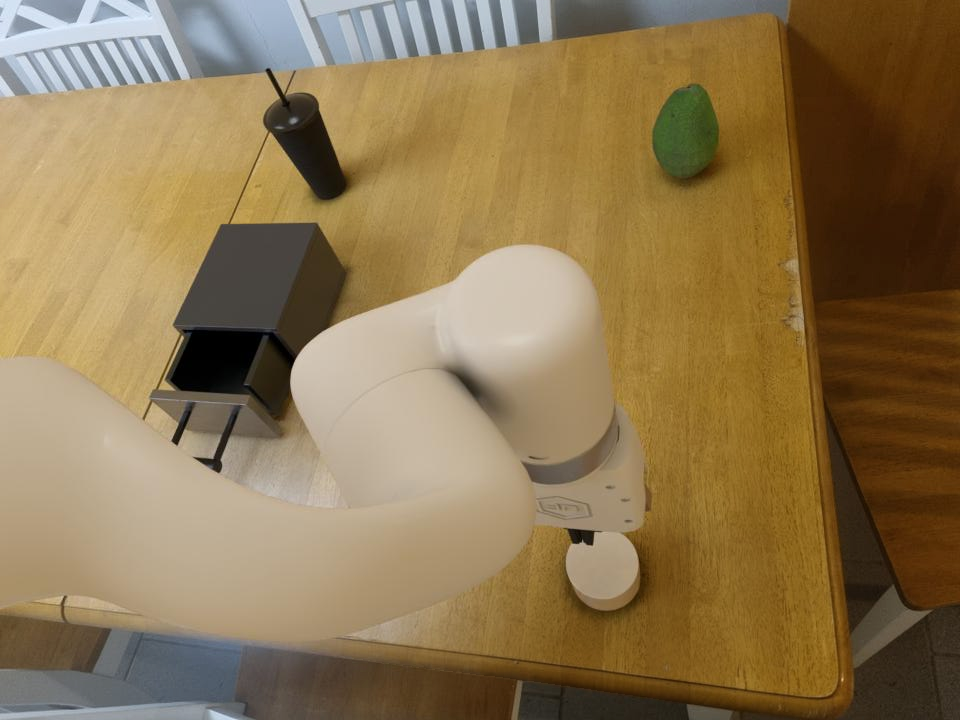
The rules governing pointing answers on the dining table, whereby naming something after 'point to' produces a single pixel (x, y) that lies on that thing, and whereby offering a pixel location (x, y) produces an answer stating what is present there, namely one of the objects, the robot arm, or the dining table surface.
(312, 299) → the cabinet
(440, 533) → the robot arm
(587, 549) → the white cylindrical puck
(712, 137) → the fruit
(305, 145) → the drinking cup
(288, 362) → the drawer
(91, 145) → the dining table surface
